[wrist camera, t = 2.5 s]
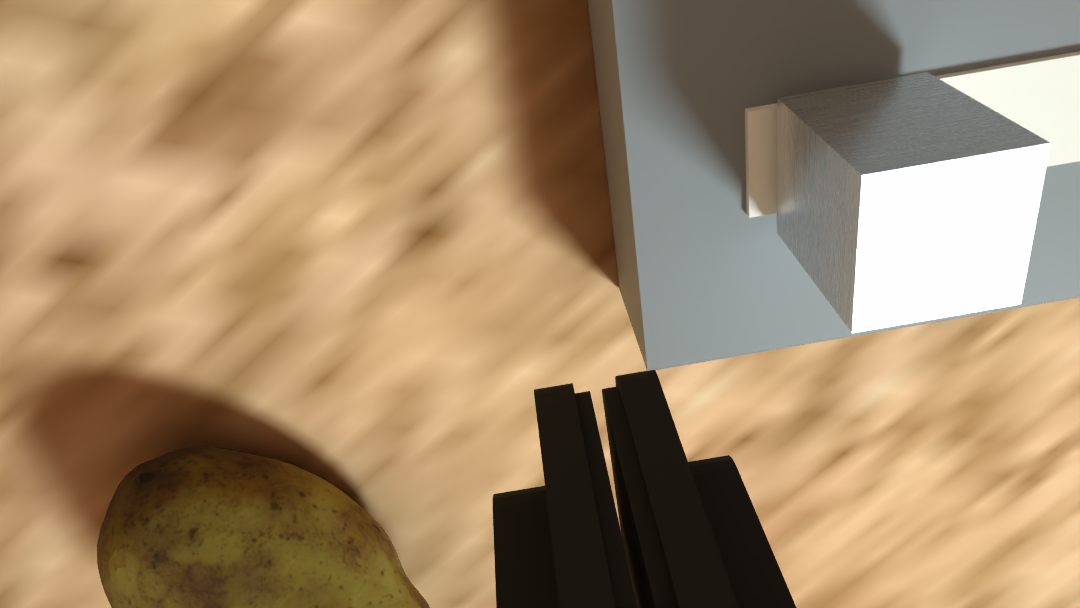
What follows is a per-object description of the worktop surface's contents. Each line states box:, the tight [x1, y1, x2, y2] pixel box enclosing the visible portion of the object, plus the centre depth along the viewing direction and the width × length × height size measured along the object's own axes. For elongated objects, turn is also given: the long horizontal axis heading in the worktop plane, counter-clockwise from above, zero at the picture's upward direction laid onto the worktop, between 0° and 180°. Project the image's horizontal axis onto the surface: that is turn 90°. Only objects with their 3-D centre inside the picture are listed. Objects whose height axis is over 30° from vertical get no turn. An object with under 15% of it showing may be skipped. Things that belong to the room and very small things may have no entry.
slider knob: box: [777, 72, 1051, 333], centre depth 16 cm, size 3×3×4 cm
